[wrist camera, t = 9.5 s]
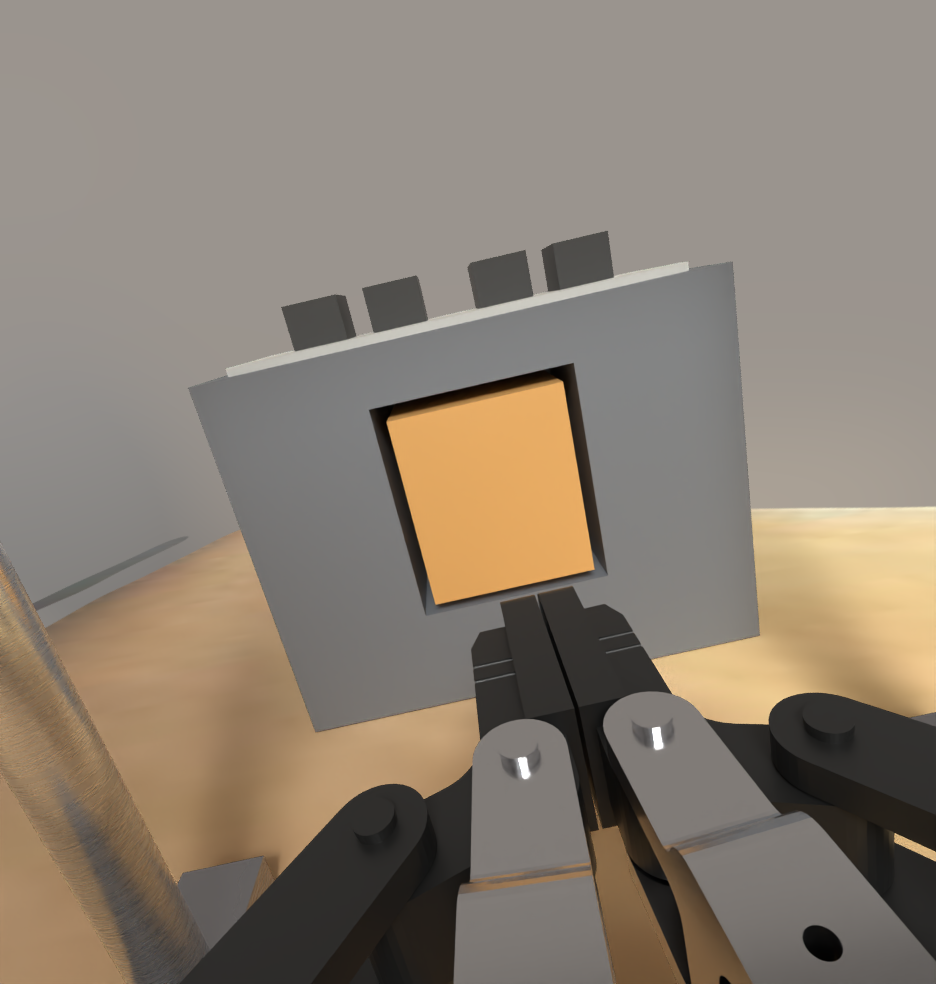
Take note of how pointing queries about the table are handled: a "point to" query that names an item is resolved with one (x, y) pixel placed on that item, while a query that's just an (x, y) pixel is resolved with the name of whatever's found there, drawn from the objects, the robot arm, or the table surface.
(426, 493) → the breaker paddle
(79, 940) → the table surface
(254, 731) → the table surface
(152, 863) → the cord gate
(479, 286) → the box
